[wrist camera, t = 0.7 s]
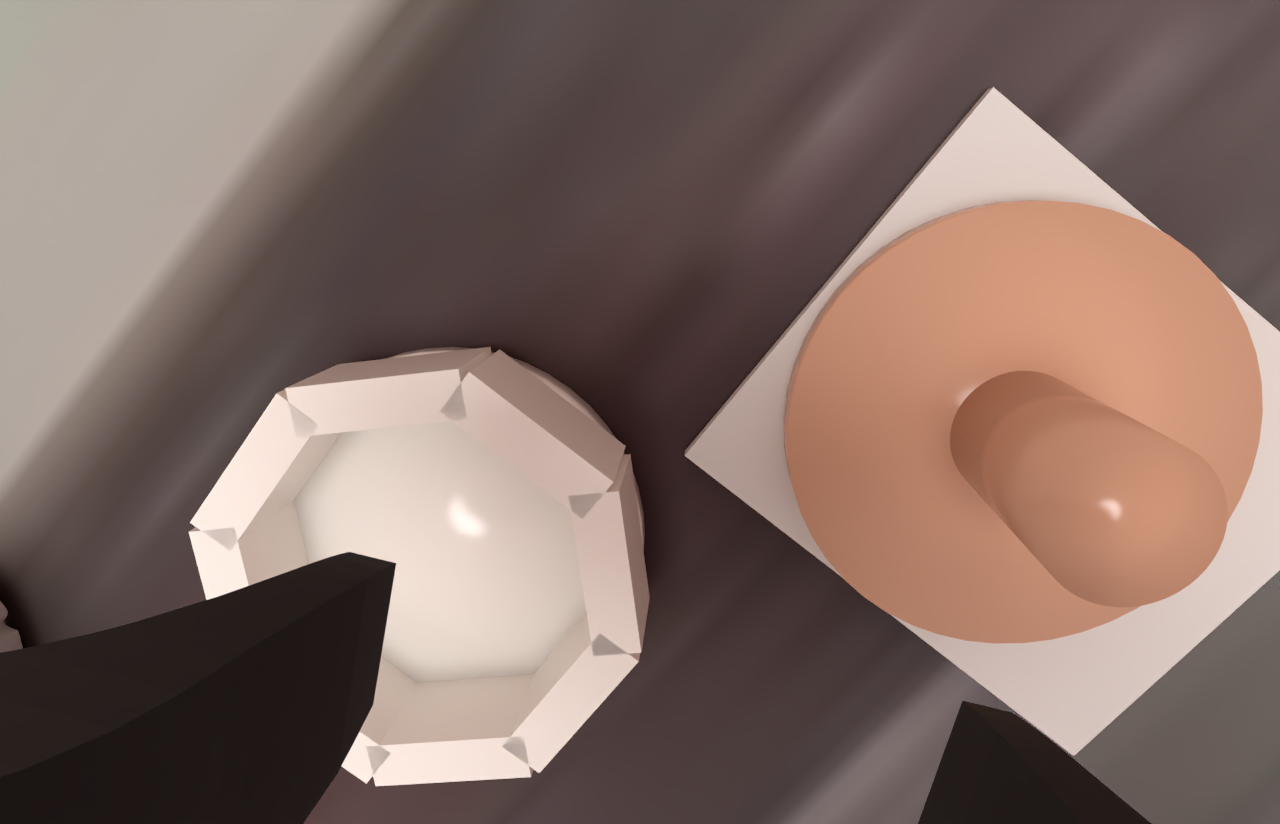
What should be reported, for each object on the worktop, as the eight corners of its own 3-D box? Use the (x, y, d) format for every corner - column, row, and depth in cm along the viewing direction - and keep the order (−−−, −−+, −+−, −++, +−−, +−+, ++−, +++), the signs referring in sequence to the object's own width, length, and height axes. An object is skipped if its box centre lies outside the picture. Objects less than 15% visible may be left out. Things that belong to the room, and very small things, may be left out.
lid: (1333, 391, 18) (1621, 482, 13) (1010, 697, 21) (1128, 893, 15) (993, 102, 17) (1134, 55, 12) (696, 454, 20) (690, 560, 14)
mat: (1400, 442, 19) (1415, 448, 18) (1067, 746, 21) (1073, 756, 21) (987, 89, 18) (993, 87, 17) (685, 450, 20) (684, 455, 20)
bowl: (721, 504, 20) (723, 566, 17) (503, 755, 23) (467, 854, 19) (412, 267, 20) (351, 282, 16) (217, 550, 22) (126, 615, 18)
